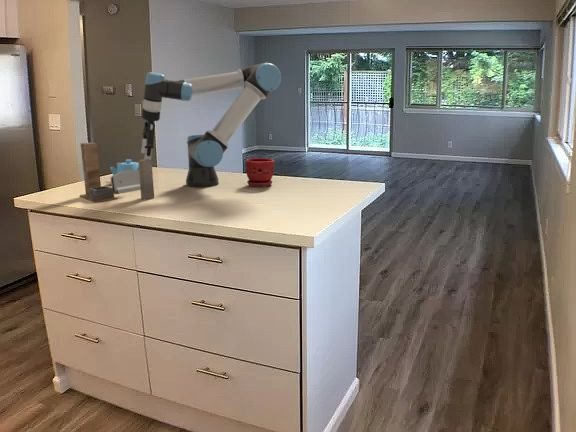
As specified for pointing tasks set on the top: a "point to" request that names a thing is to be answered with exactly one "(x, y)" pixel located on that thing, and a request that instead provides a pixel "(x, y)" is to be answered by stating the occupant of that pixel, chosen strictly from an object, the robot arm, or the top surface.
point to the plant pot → (259, 172)
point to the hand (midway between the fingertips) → (145, 157)
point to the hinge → (126, 181)
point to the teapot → (125, 167)
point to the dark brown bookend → (93, 175)
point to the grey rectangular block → (146, 179)
